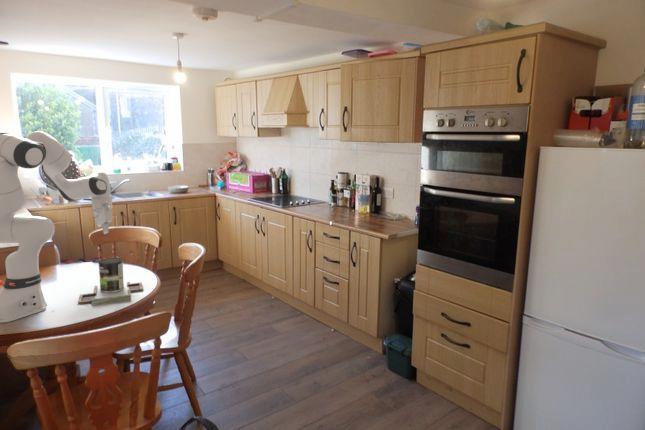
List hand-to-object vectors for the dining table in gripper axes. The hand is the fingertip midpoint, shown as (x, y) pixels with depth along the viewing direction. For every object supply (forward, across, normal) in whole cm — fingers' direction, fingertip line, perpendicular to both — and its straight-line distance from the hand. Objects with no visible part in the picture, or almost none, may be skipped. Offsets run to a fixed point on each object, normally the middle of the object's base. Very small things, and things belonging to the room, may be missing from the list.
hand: (106, 233), depth 208 cm
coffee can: (+27, -2, +1) cm, 27 cm away
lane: (+29, -9, +3) cm, 31 cm away
